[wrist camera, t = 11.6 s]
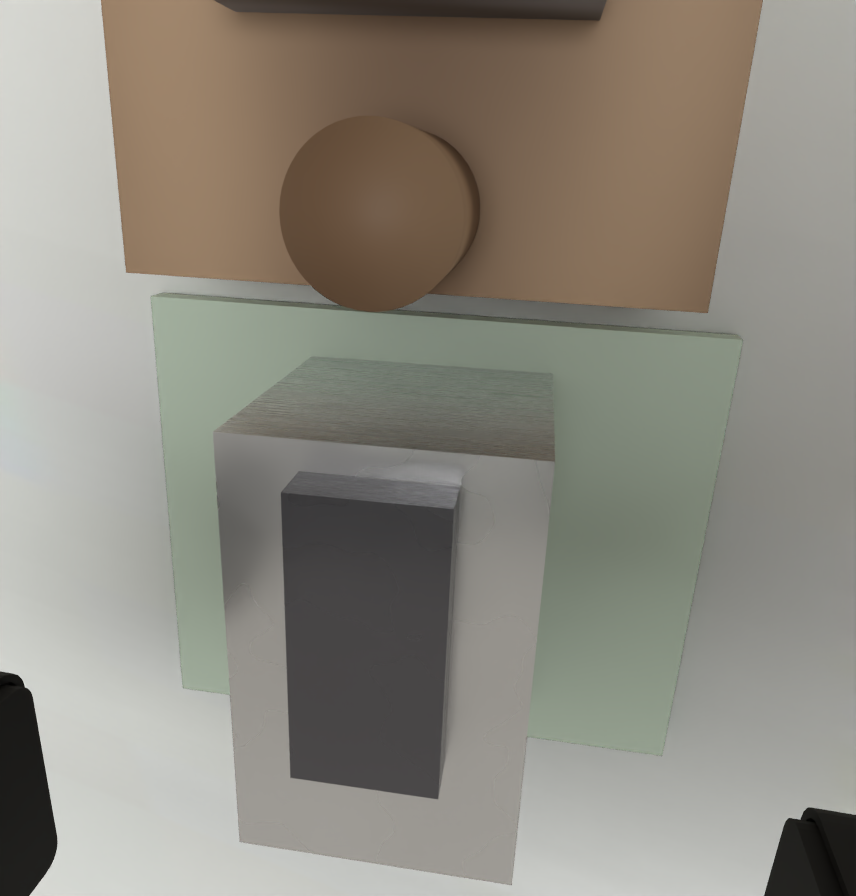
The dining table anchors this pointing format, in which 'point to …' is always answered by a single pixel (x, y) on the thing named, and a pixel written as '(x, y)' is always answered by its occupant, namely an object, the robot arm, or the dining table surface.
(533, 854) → the dining table surface
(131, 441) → the dining table surface
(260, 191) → the plane body
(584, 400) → the mat
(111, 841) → the dining table surface
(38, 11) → the dining table surface
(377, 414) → the lever cap
